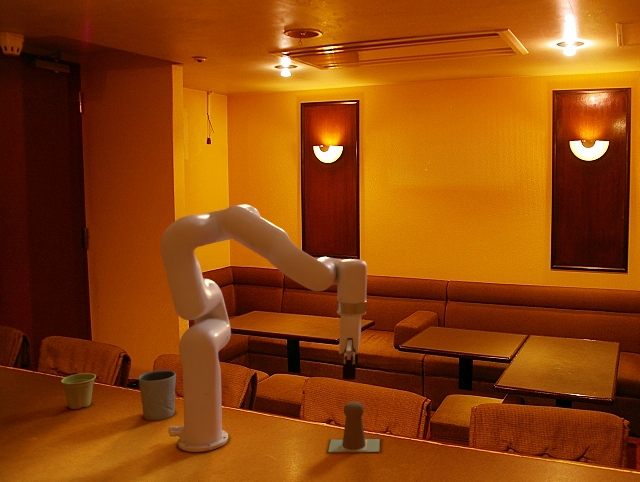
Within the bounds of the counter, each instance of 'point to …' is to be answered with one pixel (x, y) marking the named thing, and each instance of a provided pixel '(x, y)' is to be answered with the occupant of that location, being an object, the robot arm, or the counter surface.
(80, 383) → the plant pot
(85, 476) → the counter surface
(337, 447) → the placemat
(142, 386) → the grey cup
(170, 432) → the robot arm
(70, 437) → the counter surface
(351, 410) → the brown tall tapered piece
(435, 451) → the counter surface
